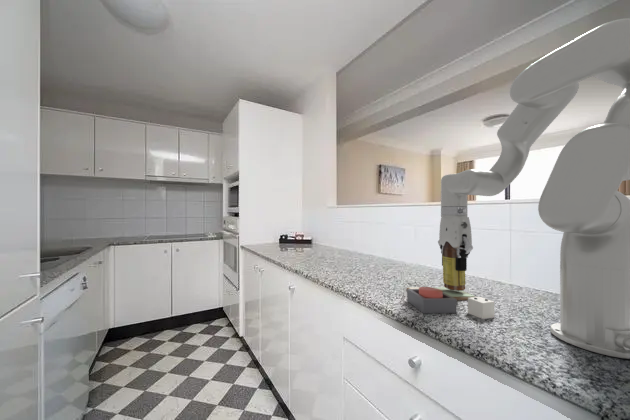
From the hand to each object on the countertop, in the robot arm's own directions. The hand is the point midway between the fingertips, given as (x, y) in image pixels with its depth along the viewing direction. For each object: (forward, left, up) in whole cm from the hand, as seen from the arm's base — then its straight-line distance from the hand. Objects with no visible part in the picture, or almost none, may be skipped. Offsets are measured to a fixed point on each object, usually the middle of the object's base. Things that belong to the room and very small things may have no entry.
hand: (453, 267), depth 79 cm
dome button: (-10, +13, -7) cm, 18 cm away
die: (-16, +4, -9) cm, 18 cm away
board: (0, +5, -9) cm, 10 cm away
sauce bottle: (0, 0, -7) cm, 7 cm away
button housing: (-10, +14, -9) cm, 19 cm away
